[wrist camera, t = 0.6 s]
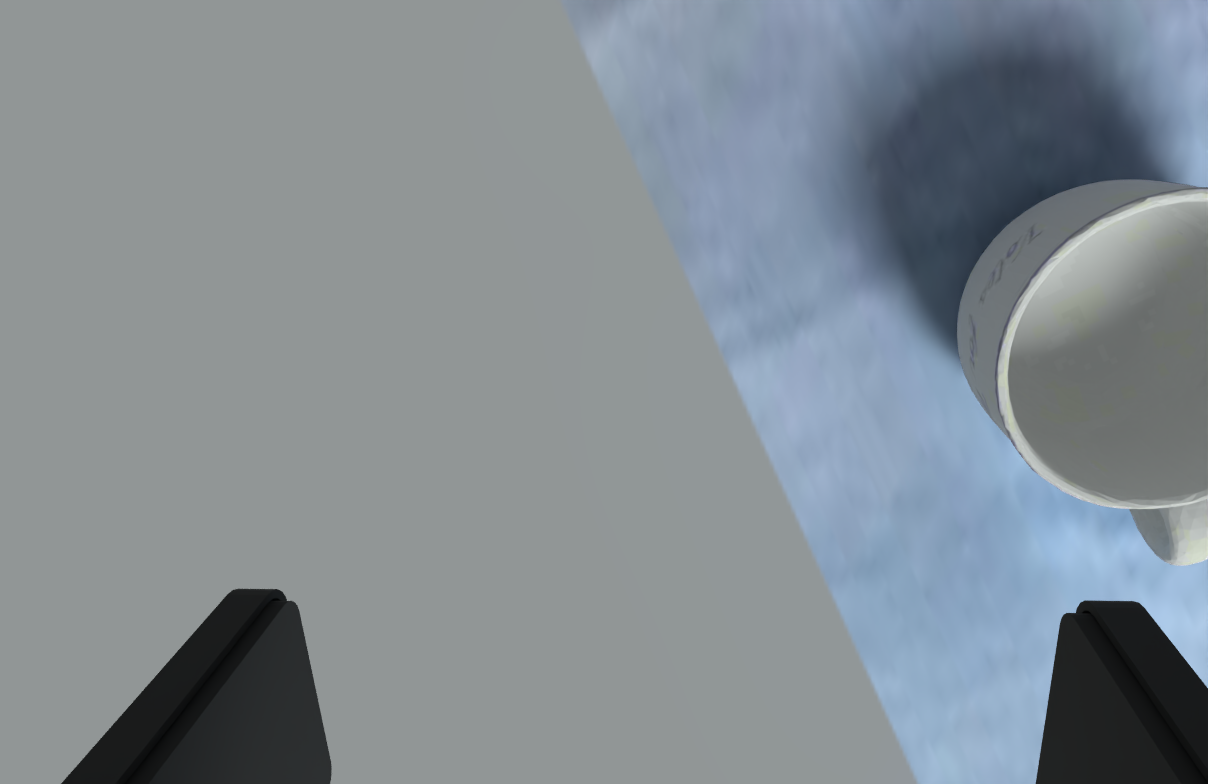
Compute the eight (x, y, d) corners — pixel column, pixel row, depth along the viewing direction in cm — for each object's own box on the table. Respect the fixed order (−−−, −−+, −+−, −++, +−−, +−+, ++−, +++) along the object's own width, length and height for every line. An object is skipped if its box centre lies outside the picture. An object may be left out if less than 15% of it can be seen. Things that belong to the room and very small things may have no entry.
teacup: (933, 181, 34) (996, 217, 27) (1239, 139, 33) (1396, 165, 25) (942, 499, 39) (997, 605, 32) (1209, 477, 37) (1334, 583, 30)
